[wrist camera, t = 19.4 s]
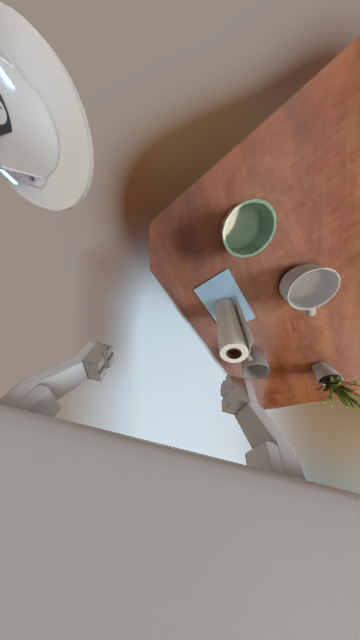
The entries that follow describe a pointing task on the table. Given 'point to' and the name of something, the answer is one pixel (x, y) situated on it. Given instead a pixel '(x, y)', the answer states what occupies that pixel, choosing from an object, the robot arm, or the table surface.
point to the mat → (222, 293)
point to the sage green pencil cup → (248, 227)
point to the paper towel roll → (232, 331)
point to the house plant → (334, 384)
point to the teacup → (309, 287)
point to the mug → (255, 365)
